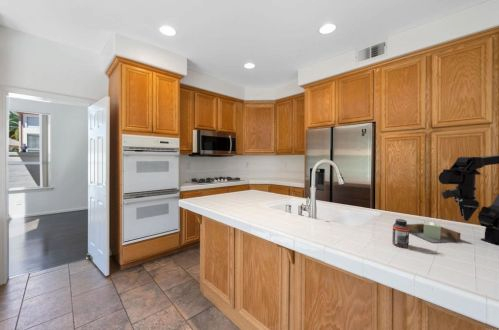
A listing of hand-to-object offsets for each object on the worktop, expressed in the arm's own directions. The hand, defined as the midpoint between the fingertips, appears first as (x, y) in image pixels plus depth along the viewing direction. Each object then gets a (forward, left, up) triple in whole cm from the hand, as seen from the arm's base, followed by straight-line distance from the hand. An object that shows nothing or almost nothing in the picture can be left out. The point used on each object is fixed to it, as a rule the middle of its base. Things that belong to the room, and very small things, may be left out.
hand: (464, 218), depth 100 cm
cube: (+9, -7, -11) cm, 15 cm away
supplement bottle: (+32, 0, -11) cm, 34 cm away
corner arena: (+8, -8, -11) cm, 16 cm away
